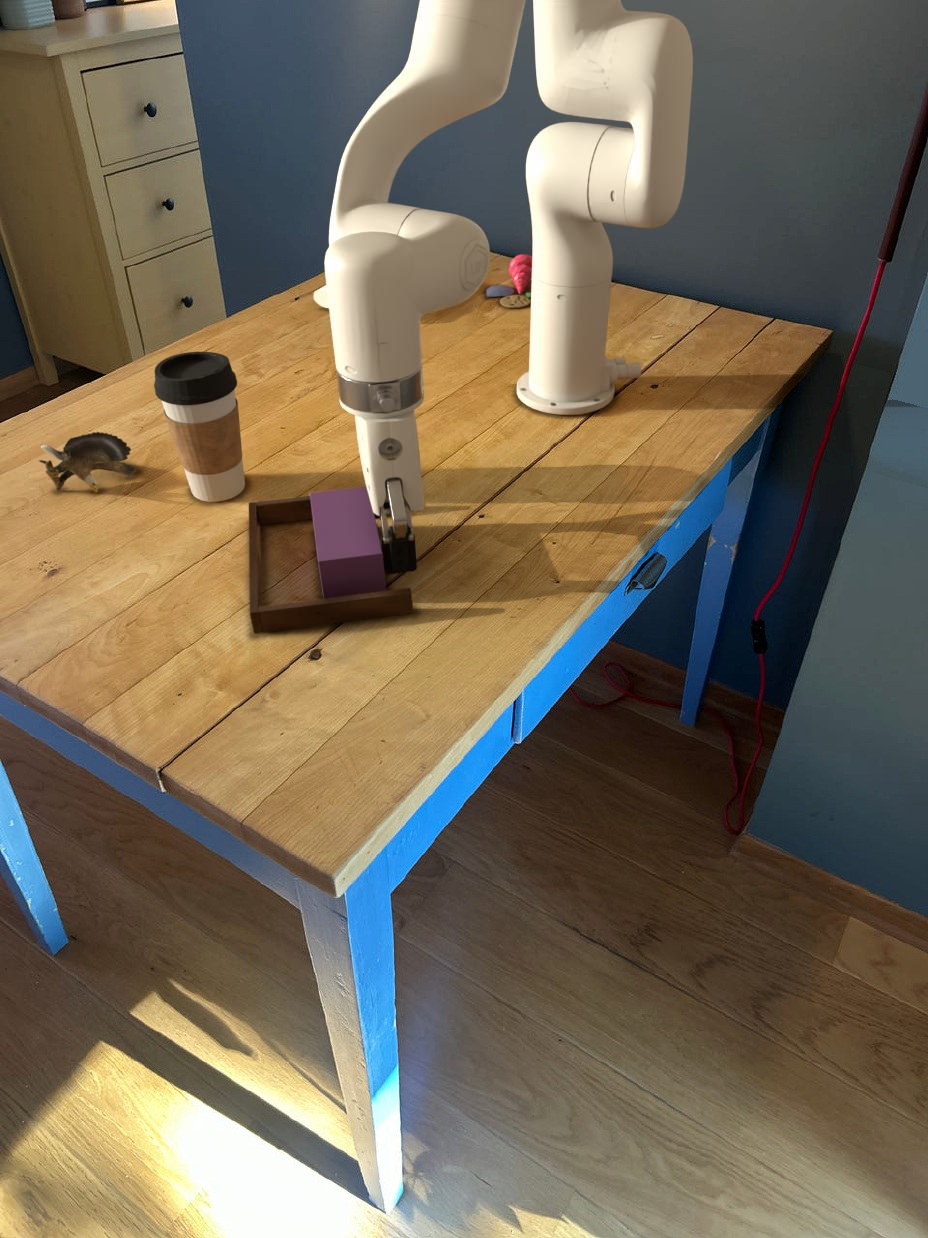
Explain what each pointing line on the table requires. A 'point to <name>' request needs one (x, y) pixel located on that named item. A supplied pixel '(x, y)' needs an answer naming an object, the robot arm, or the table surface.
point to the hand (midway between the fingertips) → (393, 542)
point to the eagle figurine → (88, 458)
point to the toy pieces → (521, 277)
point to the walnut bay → (312, 609)
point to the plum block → (347, 542)
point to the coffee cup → (203, 421)
